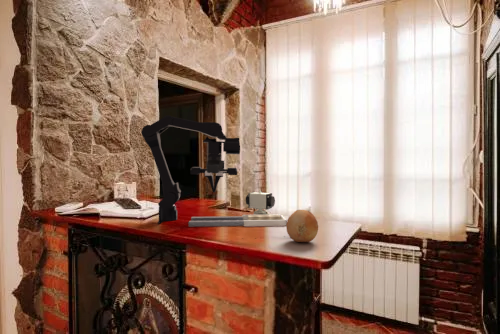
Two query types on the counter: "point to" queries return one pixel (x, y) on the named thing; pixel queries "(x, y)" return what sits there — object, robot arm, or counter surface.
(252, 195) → the pneumatic valve
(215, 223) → the slot rail
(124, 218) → the counter surface
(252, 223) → the tray
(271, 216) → the block
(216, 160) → the robot arm
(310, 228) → the onion
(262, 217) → the block
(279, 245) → the counter surface
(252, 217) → the block
